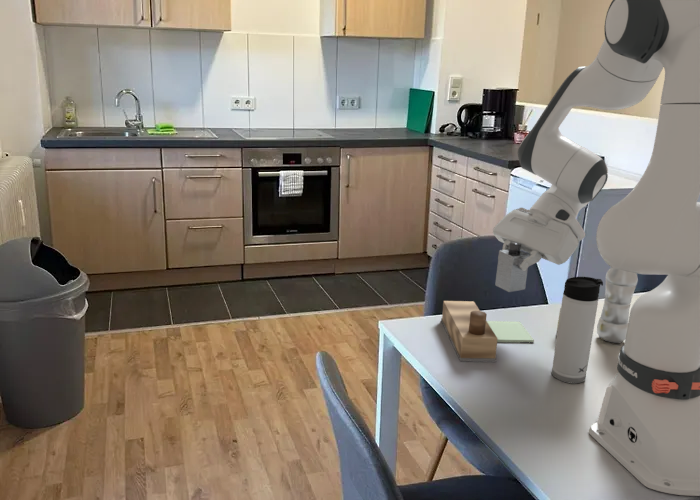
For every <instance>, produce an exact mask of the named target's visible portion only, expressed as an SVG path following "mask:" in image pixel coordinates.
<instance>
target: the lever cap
mask: <svg viewBox="0 0 700 500" xmlns="http://www.w3.org/2000/svg"><path fill="white" fill-rule="evenodd" d="M520 249H521V243H518V242H510V244H509V249H508V250H502V249H500V250H499V251H498V256H499V257H497V267H496V275H495V285H494V286H496V287H498V288H500V289H502V290H503V291H506V292H507V293H512V292H517V291H523V290H526V284H527V277H528V268H529V267H528V268H527V269H526V271H522V270H520V269H519V268H518V267H517V263H518V262H519V261H520V260H521V259H523V260H524V259H526V258H527V257H529V256H530V253H528V252H525V251H523V250H520Z"/></svg>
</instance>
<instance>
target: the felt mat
mask: <svg viewBox="0 0 700 500" xmlns="http://www.w3.org/2000/svg"><path fill="white" fill-rule="evenodd" d="M486 321H487V323H488V324H489V326H490V327H491V329H492V330H493V332H494V334H495V335H496V337H497V338H498V339H497V343H520V342H529V343H530V342H535V339H534V338H533V337H532V335H531V334H530V333H529V331H528V330H527V329H526V327H525V326H524V325H523V323H521V321H508V320H507V321H505V320H504V321H500V320H498V321H497V320H495V321H493V320H492V321H491V320H486ZM529 343H528V344H529Z"/></svg>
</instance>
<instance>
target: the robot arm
mask: <svg viewBox="0 0 700 500" xmlns="http://www.w3.org/2000/svg"><path fill="white" fill-rule="evenodd" d="M663 69H664V80H663V85H662V91H661V97H660V105H659V111H658V112H659V113H658V120H657V126H656V132H655V136H654V137H655V138H654V144H653V147H652V148H653V149H652V153H651V157H650V160H649V162H648V164H647V167H646V169H645V171H644V173H643V174H642V176H641V177H640V179H639V181H638V182H637V183H636V185H635V186H634V187H633V189H632V190H631V191H630V192H629V193H628V194H626V196H625V197H623V198H622V199H621V200H619V201H617V203H615V204H614V205H612V206H610V207H609V208H608V210H607V211H606V212H605V213H604V214H603V216H602V217H601V219H600V220H599V223H598V225H597V228H596V234H595V235H596V238H595V239H596V245H597V249H598V252H599V254H600V256H601V258H602V259H603V261H604V262H605V264H606V265H608V266H609V267H610V268H611V267H612V268H616V269H620V270H624V271H628V272H633V273H636V274H637V275H638V274H639V275H659V276H660V275H665V276H666V277H665V278H664V279H663V281H662V282H661V283H660V284H659V285H657V286H656V287H655V288H653V289H652V290H649V291H648V292H646V293H644V294H642V295H641V296H639V297H638V298H637V299H636V300H635V301H634V303H633V304H632V306H631V308H630V310H629V319H628V327H627V333H626V339H625V340H624V345H622V346H621V347H620V349H619V350H620V351H619V353H618V357H617V365H616V367H617V371H618V372H617V374H616V375H615V377H614V379H612V381H611V382H610V383H609V384H608V385H607V387H606V388H605V389H606V390H605V393H604V396H603V400H602V403H601V406H600V411H599V415H598V417H597V421H596V422H593V424H591V425H590V426H589V430H588V433H589V435H590V436H591V437H592V438H593V439H594V440H595V441H596V442H597V443H598V444H600V445H601V446H602V447H603V448H604V449H605V450H606V451H607V452H608V453H609V454H610V455H611V456H612V457H613V458H614V459H615V460H617V461H618V462H619V463H620V464H621V465H622V466H623V467H624V468H625V469H626V470H627V471H628V472H629V473H631V475H632V476H634V477H635V478H636V479H637V480H638V481H639V482H640V483H641V484H642V485H643V486H645V487H646V488H648V489H650V490H654V491H657V492H661V493H666V494H670V495H679V496H686V497H687V496H688V497H689V496H691V497H700V201H698V200H699V197H700V0H612V1H611V2H610V4H609V6H608V9H607V11H606V16H605V20H604V40H603V42H602V44H601V46H600V48H599V50H598V52H597V55H596V56H595V58H594V60H593V61H592V62H591V63H590V64H589V65H587V66H579V67H577V68H576V69H574V70H573V71H572V72H571V73H570V74H569V75H568V76H567V77H566V78H565V79H564V81H563V82H562V84H561V85H560V86H559V88H558V89H557V90H556V92H555V93H554V95H553V96H552V97H551V99H550V101H549V103H548V104H547V106H546V107H545V109H544V111H543V112H542V113H541V115H540V116H539V118H538V120H537V121H536V123H535V124H534V126H532V129H530V130H529V132H528V133H527V135H526V136H525V137H524V138H523V139H522V141H521V143H520V145H519V147H518V149H517V158H518V162H519V165H520V167H521V168H522V169H523V170H525V171H527V172H528V173H531V174H533V175H535V176H538V177H540V179H543V180H544V181H546V182H547V183H549V184H551V185H550V187H548V189H546V190H545V191H544V192H543V193H542V194H541V195H540V196H539V197H538V198H537V200H536V201H535V202H534V204H532V206H531V207H530V208H529V209H527V208H524V207H519V208H516V209H512V210H511V211H510V212H508V213H507V214H506V215H504V216H503V218H502V219H500V220H499V221H498V223H497V224H496V225H495V226H494V227H493V229H492V234H493V236H494V237H495V238H496V239H497V240H498V242H499V243H500V242H501V243H502V244H503V245H502V249H501V250H508V249H509V244H510V242H518V243H521V249H520V251H523V252H525V253H528V254H530V255H529V257H527V258H526V259H524V260H523V259H521V260H520V261H519V262H518V263H517V267H518V268H519V269H520V270H522V271H526V269H527V268H529V267H530V266H533V265H534V264H537V263H539V262H540V261H541V260H542V259H543V260H545V261H548V262H550V263H553V264H556V265H558V266H560V265H563V264H565V263H566V262H567V261H568V260H569V259H570V258H571V256H573V253H575V251H576V250H577V248H578V246H579V242H581V241H583V239H584V238H585V237H586V232H585V230H584V229H583V227H582V225H581V224H580V222H579V221H578V219H577V217H578V215H579V212H580V211H581V210H582V208H584V207H586V206H587V205H588V204H589V203H590V202H592V201H593V200H594V199H596V197H597V196H598V195H599V193H600V192H601V191H602V190H603V188H604V187H605V186H606V184H607V181H608V177H609V174H608V173H609V172H608V171H609V168H608V166H607V164H606V162H605V160H604V159H603V158H602V157H600V156H599V155H598V154H596V153H595V152H593V151H591V150H590V149H588V148H586V147H584V146H581V145H580V144H578V143H577V142H575V141H573V140H571V139H569V138H568V137H566V136H565V135H564V134H563V133H562V132H561V131H560V129H559V128H560V126H561V124H563V122H564V121H565V119H566V117H567V116H568V114H569V113H570V112H571V110H572V109H573V108H574V107H584V108H585V107H586V108H593V109H594V108H595V109H599V110H604V111H617V110H618V111H619V110H624V109H627V108H631V107H633V106H635V105H637V104H639V103H641V102H642V101H644V99H645V98H646V97H647V96H648V94H649V93H650V91H652V88H654V86H655V84H656V83H657V81H658V79H659V77H660V75H661V73H662V71H663ZM498 257H499V255H498ZM498 257H497V258H498Z"/></svg>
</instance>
